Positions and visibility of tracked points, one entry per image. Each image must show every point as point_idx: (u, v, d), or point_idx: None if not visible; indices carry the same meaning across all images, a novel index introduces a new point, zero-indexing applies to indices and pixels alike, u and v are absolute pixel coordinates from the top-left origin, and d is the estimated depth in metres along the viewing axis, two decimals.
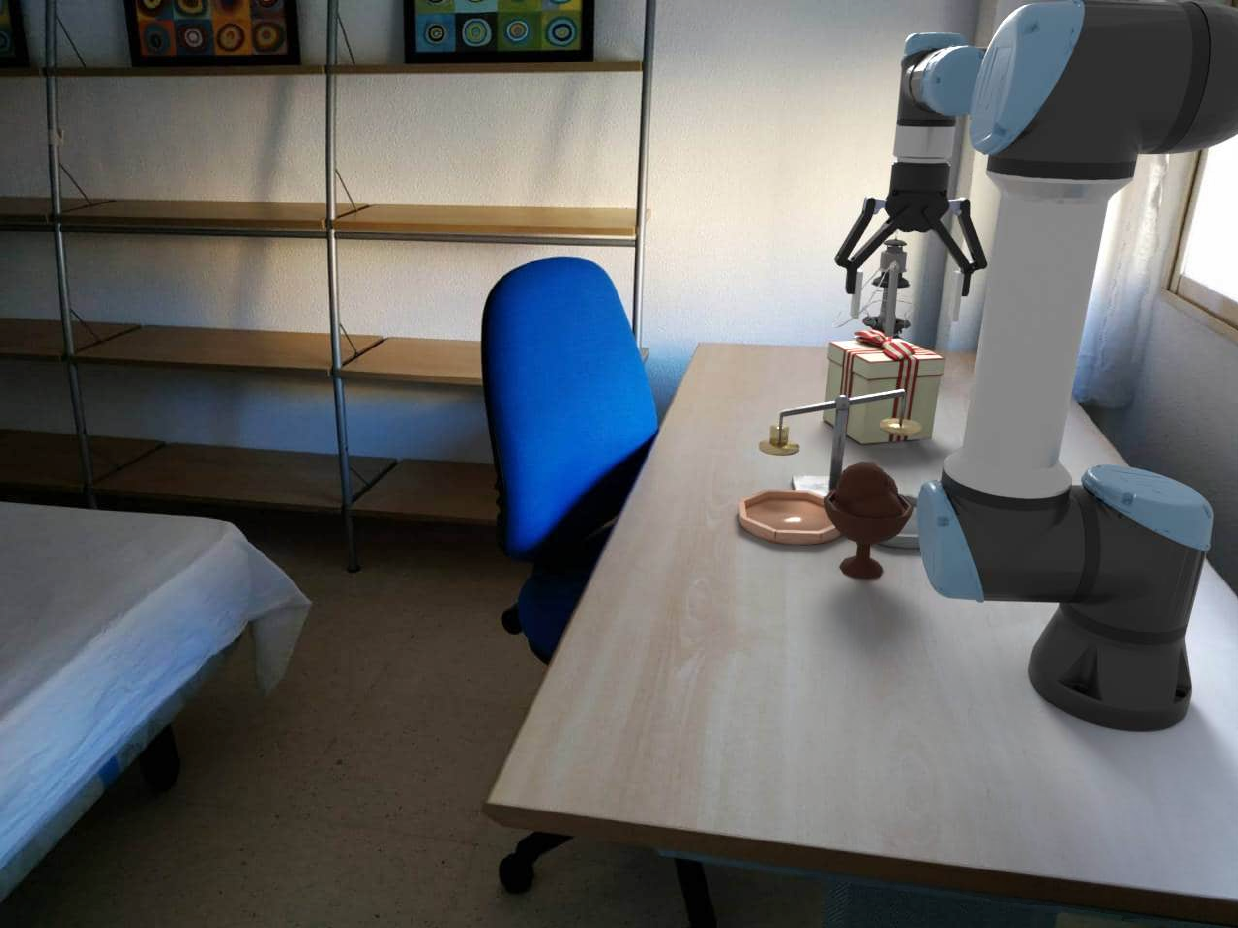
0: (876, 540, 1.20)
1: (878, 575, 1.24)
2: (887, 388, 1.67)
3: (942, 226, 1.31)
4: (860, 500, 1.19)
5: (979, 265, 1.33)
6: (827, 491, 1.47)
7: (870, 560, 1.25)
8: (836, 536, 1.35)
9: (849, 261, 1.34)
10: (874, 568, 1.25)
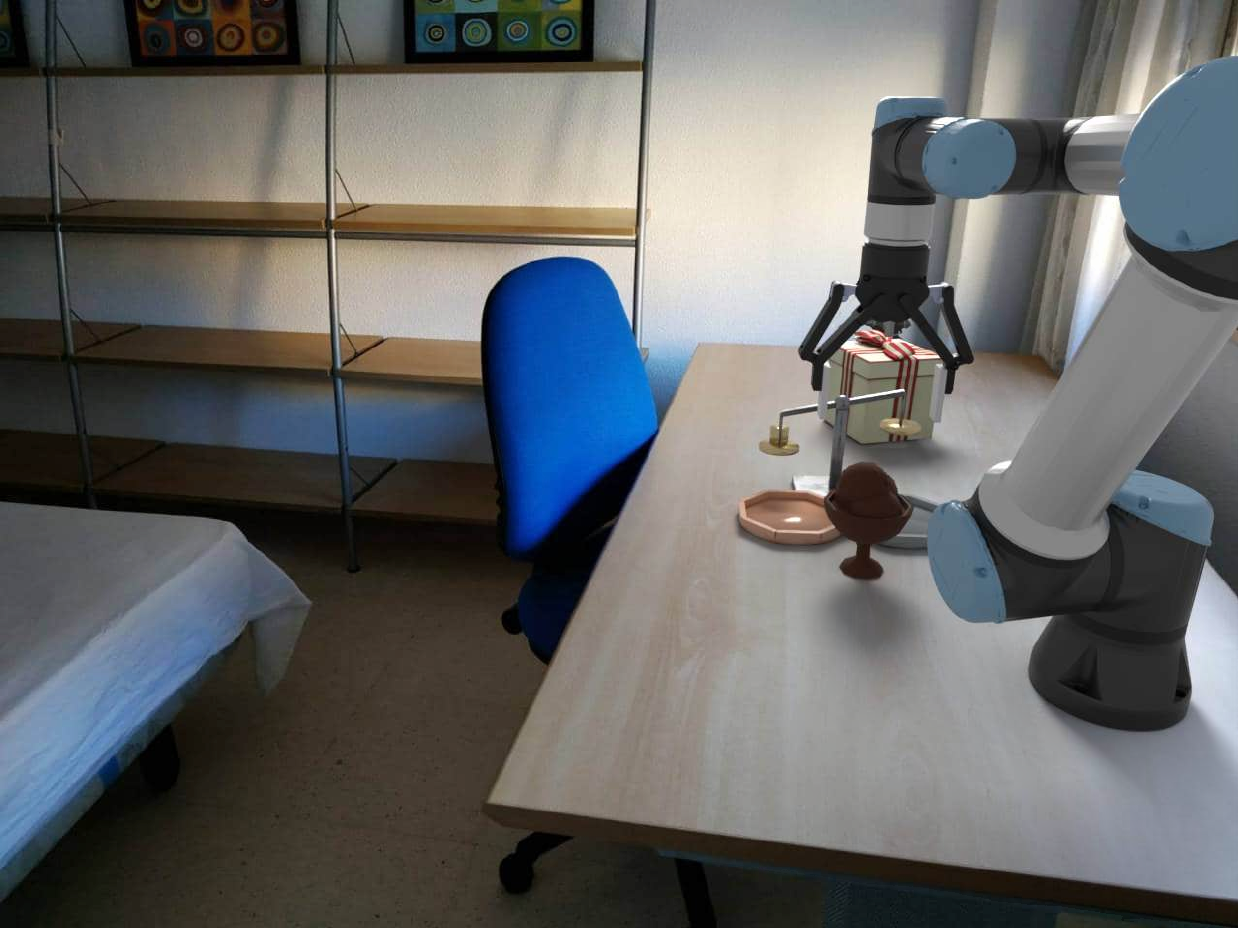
0: (876, 540, 1.20)
1: (878, 575, 1.24)
2: (887, 388, 1.67)
3: (921, 316, 1.13)
4: (860, 500, 1.19)
5: (964, 360, 1.15)
6: (827, 491, 1.47)
7: (870, 560, 1.25)
8: (836, 536, 1.35)
9: (814, 354, 1.16)
10: (874, 568, 1.25)
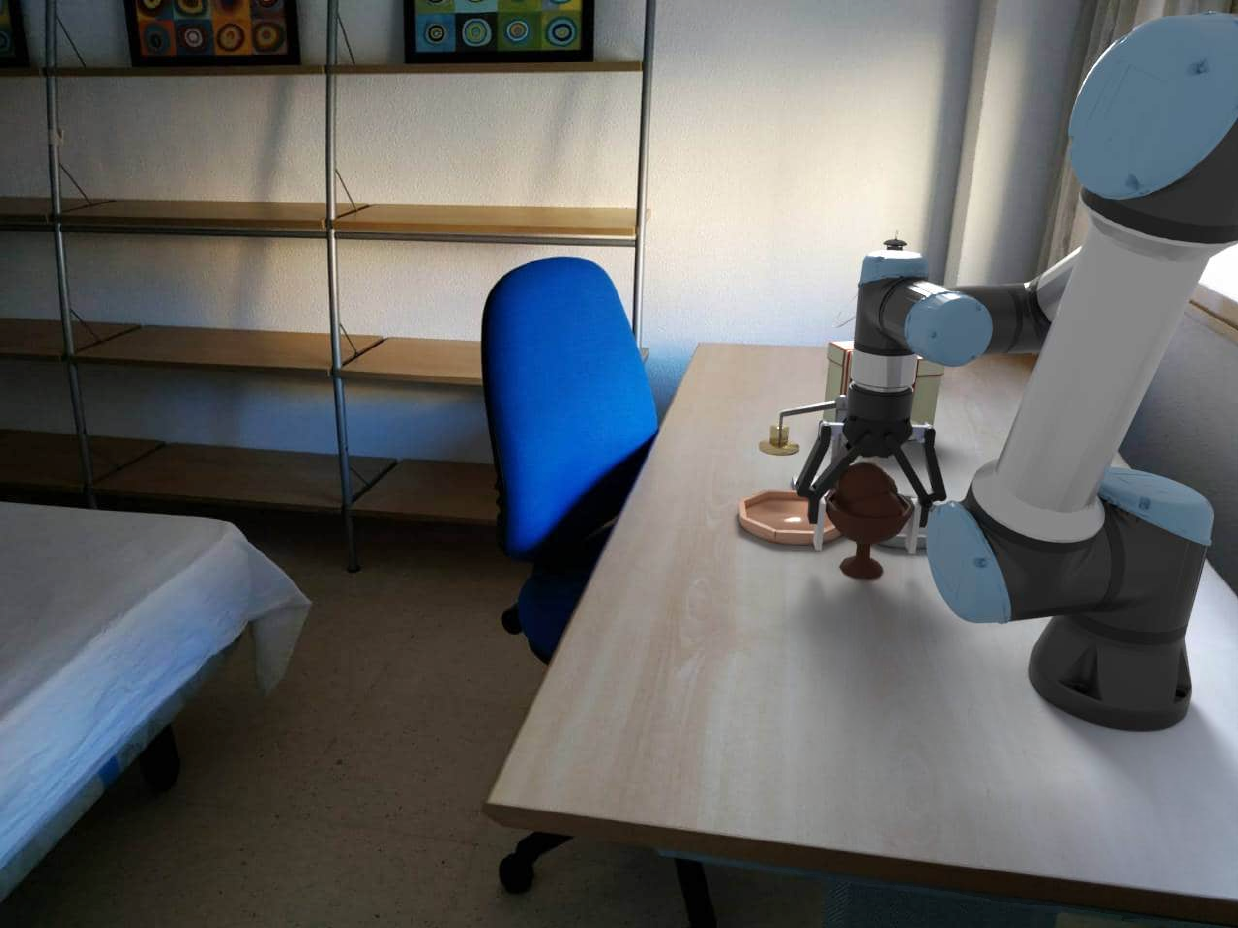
0: (876, 540, 1.20)
1: (878, 575, 1.24)
2: None
3: (903, 455, 1.19)
4: (860, 500, 1.19)
5: (938, 497, 1.21)
6: (827, 491, 1.47)
7: (870, 560, 1.25)
8: (836, 536, 1.35)
9: (810, 491, 1.22)
10: (874, 568, 1.25)
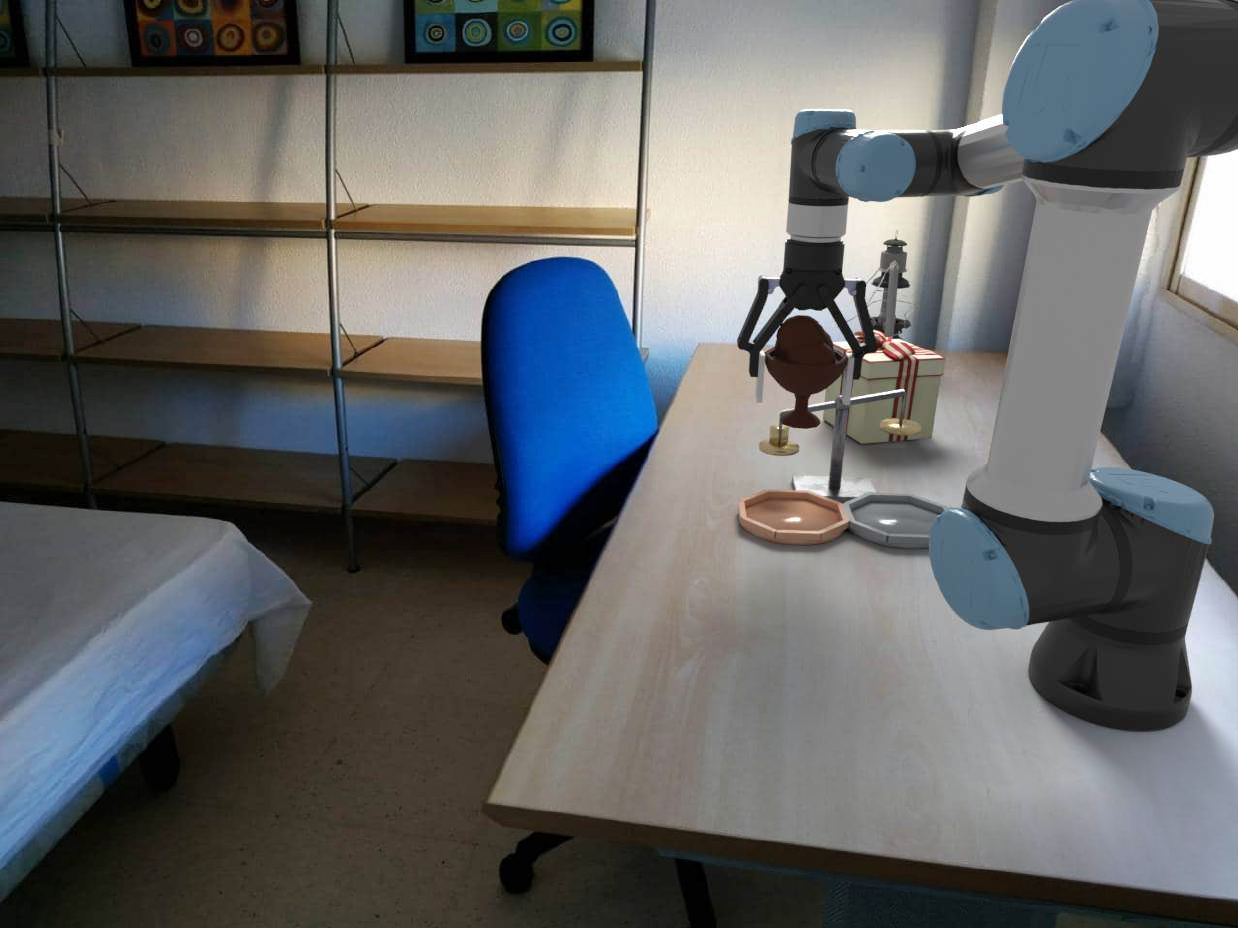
0: (811, 388, 1.28)
1: (815, 425, 1.32)
2: (887, 388, 1.67)
3: (835, 306, 1.26)
4: (796, 349, 1.27)
5: (869, 348, 1.29)
6: (827, 491, 1.47)
7: (808, 412, 1.33)
8: (836, 536, 1.35)
9: (750, 345, 1.30)
10: (811, 419, 1.32)
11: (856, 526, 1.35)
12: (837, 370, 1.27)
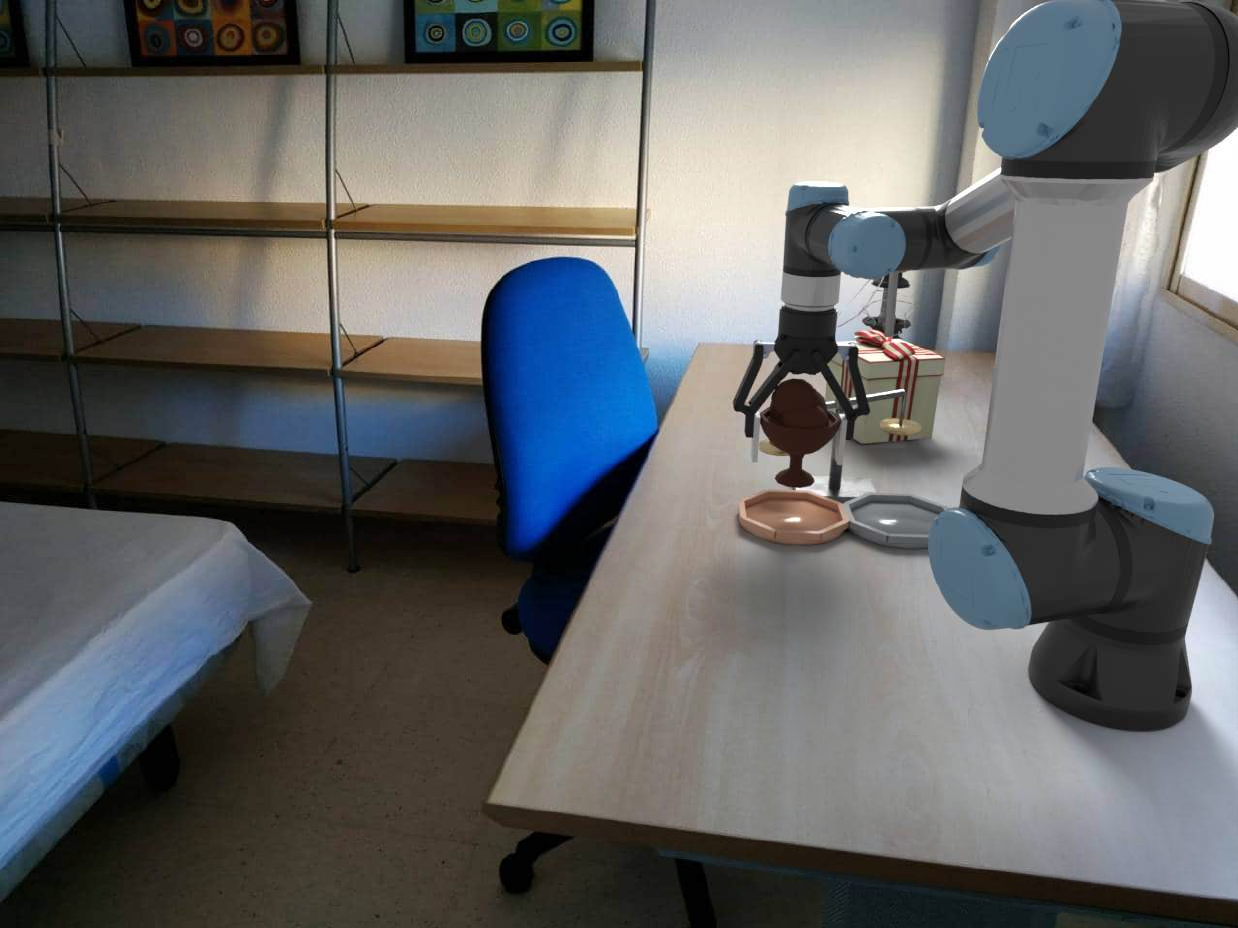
0: (805, 450, 1.32)
1: (809, 484, 1.36)
2: (887, 388, 1.67)
3: (829, 371, 1.30)
4: (790, 412, 1.31)
5: (862, 411, 1.32)
6: (827, 491, 1.47)
7: (802, 471, 1.36)
8: (836, 536, 1.35)
9: (746, 407, 1.33)
10: (805, 478, 1.36)
11: (856, 526, 1.35)
12: (830, 433, 1.31)
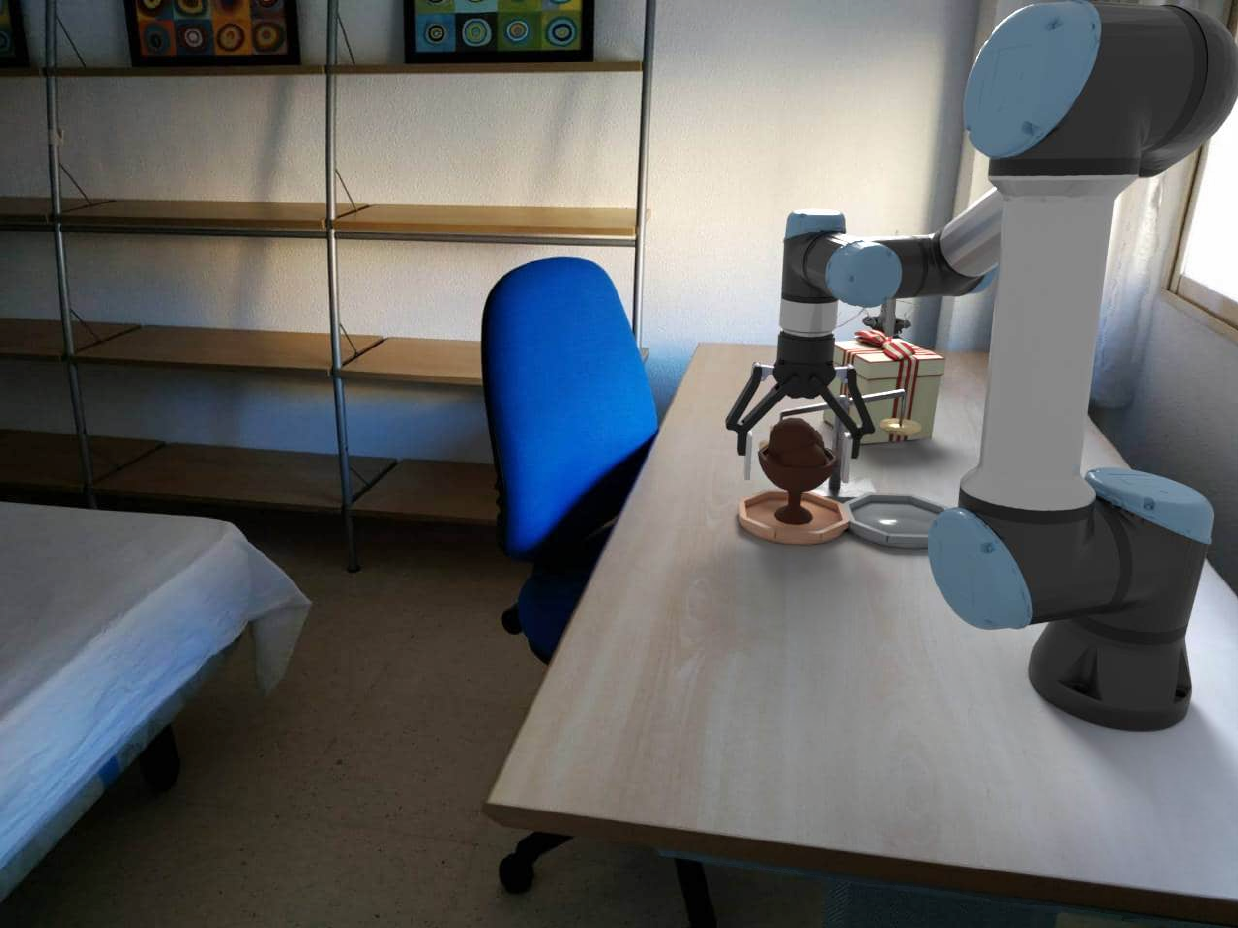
0: (803, 488, 1.33)
1: (807, 521, 1.37)
2: (887, 388, 1.67)
3: (829, 394, 1.31)
4: (788, 451, 1.32)
5: (867, 430, 1.33)
6: (827, 491, 1.47)
7: (801, 508, 1.38)
8: (836, 536, 1.35)
9: (739, 425, 1.34)
10: (804, 515, 1.38)
11: (856, 526, 1.35)
12: (828, 471, 1.33)
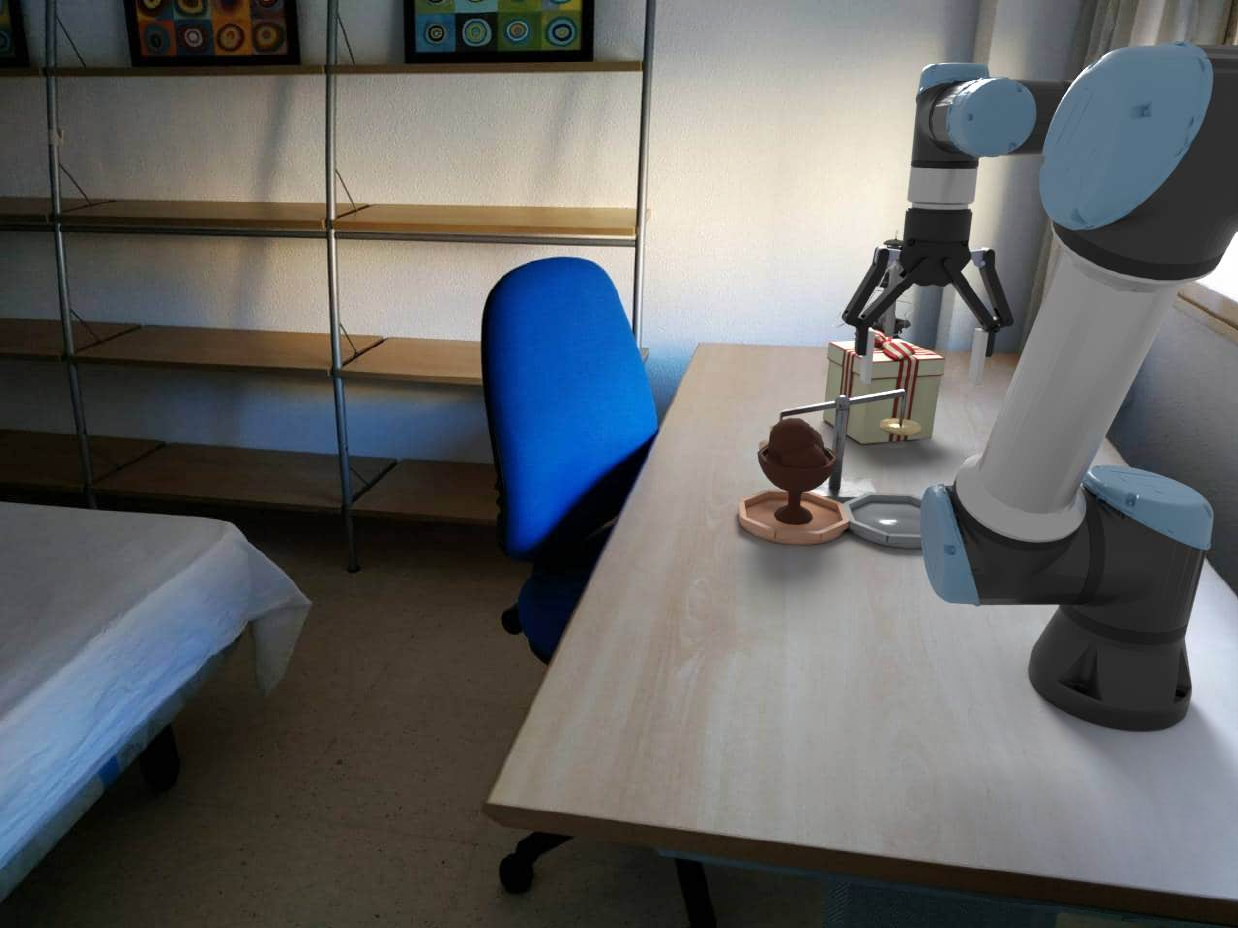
0: (803, 488, 1.33)
1: (807, 521, 1.37)
2: (887, 388, 1.67)
3: (964, 279, 1.16)
4: (788, 452, 1.32)
5: (1005, 322, 1.18)
6: (827, 491, 1.47)
7: (800, 508, 1.38)
8: (836, 536, 1.35)
9: (859, 319, 1.18)
10: (804, 515, 1.38)
11: (856, 526, 1.35)
12: (828, 471, 1.33)
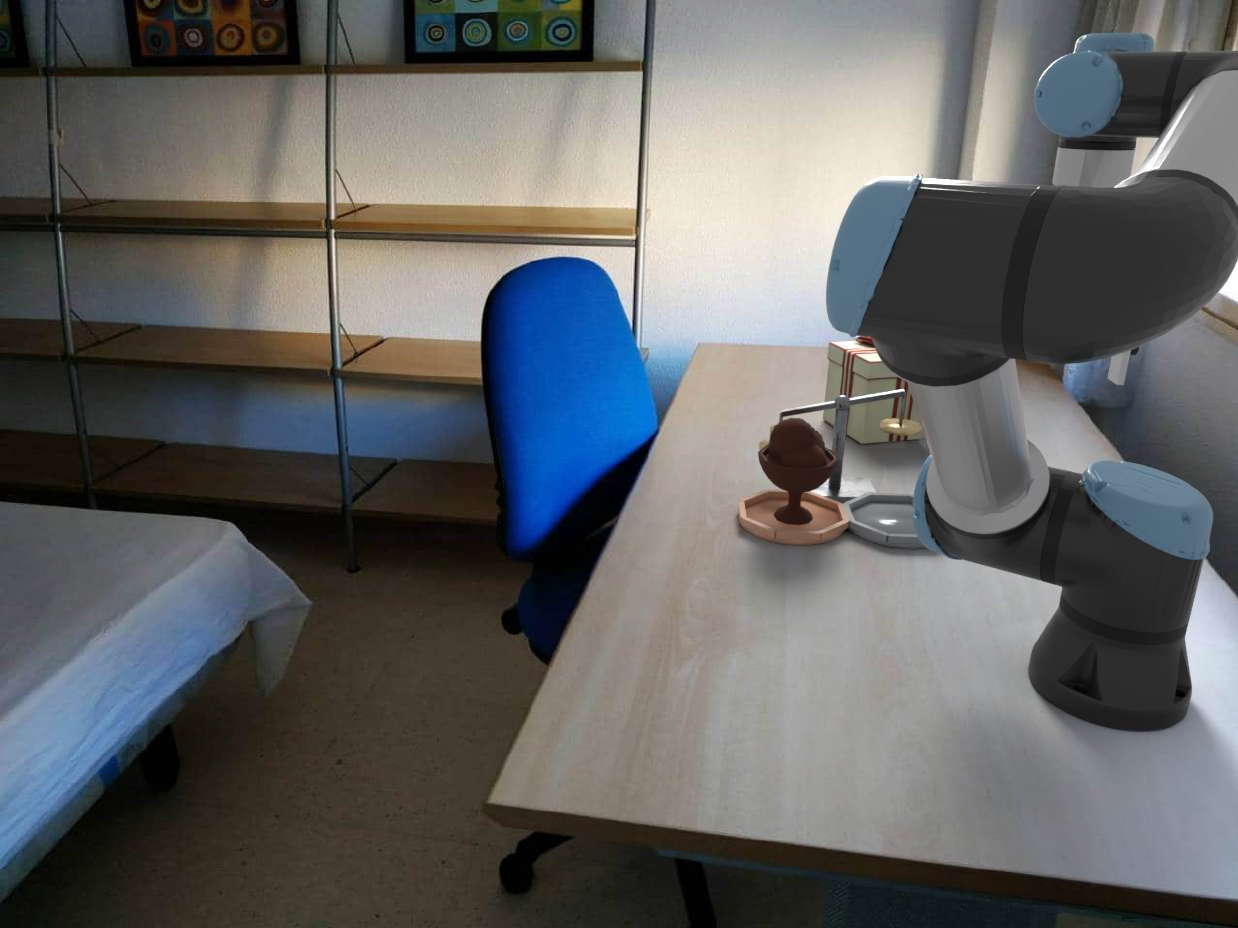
0: (803, 488, 1.33)
1: (807, 521, 1.37)
2: (887, 388, 1.67)
3: None
4: (788, 452, 1.32)
5: None
6: (827, 491, 1.47)
7: (801, 508, 1.38)
8: (836, 536, 1.35)
9: None
10: (804, 515, 1.38)
11: (856, 526, 1.35)
12: (828, 472, 1.33)
